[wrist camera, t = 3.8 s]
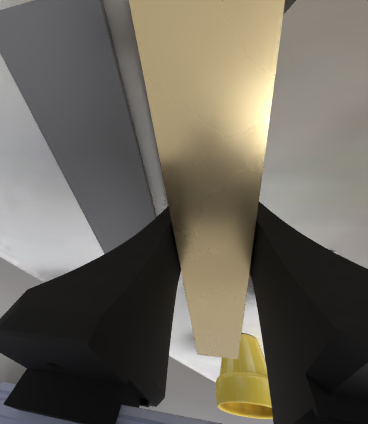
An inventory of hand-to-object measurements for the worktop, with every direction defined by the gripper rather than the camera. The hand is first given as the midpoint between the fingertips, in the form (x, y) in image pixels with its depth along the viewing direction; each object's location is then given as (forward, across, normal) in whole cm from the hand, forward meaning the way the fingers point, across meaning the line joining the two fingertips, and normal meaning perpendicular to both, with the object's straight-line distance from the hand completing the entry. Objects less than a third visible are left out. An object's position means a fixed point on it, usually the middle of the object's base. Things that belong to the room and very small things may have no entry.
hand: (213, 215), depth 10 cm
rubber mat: (+8, +11, 0) cm, 14 cm away
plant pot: (+9, -5, +37) cm, 38 cm away
